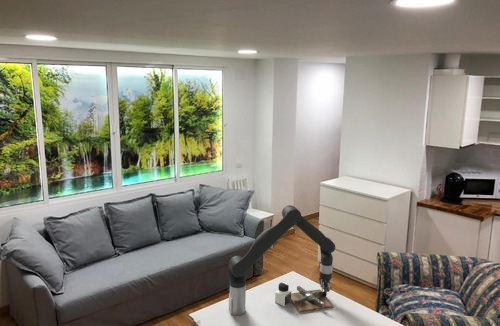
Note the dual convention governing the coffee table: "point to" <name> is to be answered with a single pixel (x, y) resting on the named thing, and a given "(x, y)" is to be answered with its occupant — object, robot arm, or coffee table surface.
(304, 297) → the spoked handwheel
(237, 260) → the robot arm
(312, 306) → the stand board
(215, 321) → the coffee table surface
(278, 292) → the medicine bottle
